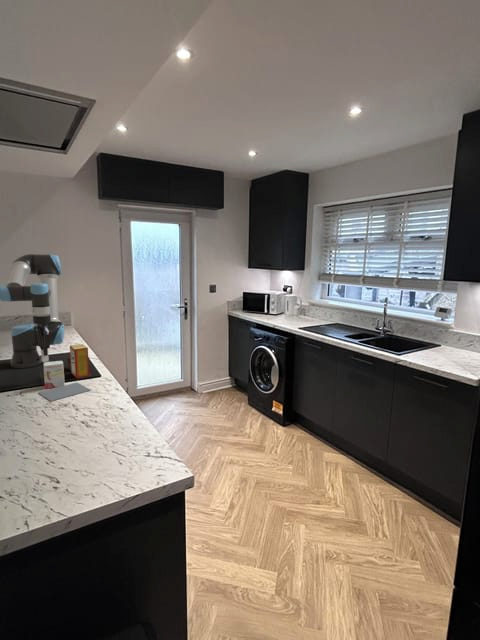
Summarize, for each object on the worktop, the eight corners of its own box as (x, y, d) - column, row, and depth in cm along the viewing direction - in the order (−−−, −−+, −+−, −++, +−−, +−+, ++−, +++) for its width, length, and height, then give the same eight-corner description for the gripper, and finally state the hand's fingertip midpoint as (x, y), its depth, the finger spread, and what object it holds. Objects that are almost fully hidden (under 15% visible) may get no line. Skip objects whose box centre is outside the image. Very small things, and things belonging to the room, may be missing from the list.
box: (77, 371, 195) (76, 358, 194) (68, 370, 196) (67, 357, 195) (84, 367, 201) (83, 355, 200) (75, 366, 202) (74, 354, 201)
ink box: (45, 389, 169) (43, 365, 166) (44, 385, 173) (42, 362, 171) (65, 386, 173) (63, 363, 171) (64, 382, 177) (62, 360, 175)
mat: (38, 393, 164) (38, 392, 163) (76, 383, 177) (76, 382, 177) (51, 401, 155) (50, 400, 155) (90, 390, 168) (90, 389, 168)
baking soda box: (89, 376, 188) (87, 346, 185) (76, 378, 184) (74, 348, 181) (84, 371, 195) (82, 343, 192) (71, 373, 191) (69, 344, 188)
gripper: (28, 314, 174) (32, 360, 178) (38, 317, 166) (42, 365, 170) (44, 312, 180) (47, 357, 184) (55, 315, 171) (58, 362, 175)
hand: (45, 361), depth 177 cm, fingers closed
